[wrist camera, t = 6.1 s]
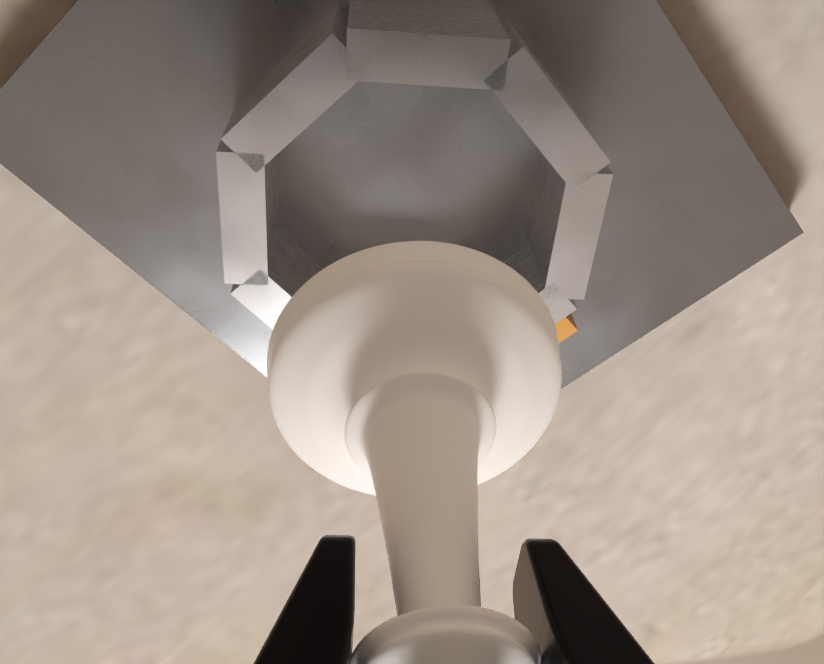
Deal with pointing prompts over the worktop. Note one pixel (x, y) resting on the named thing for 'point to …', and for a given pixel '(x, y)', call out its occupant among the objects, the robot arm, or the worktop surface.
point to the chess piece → (420, 422)
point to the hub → (394, 152)
